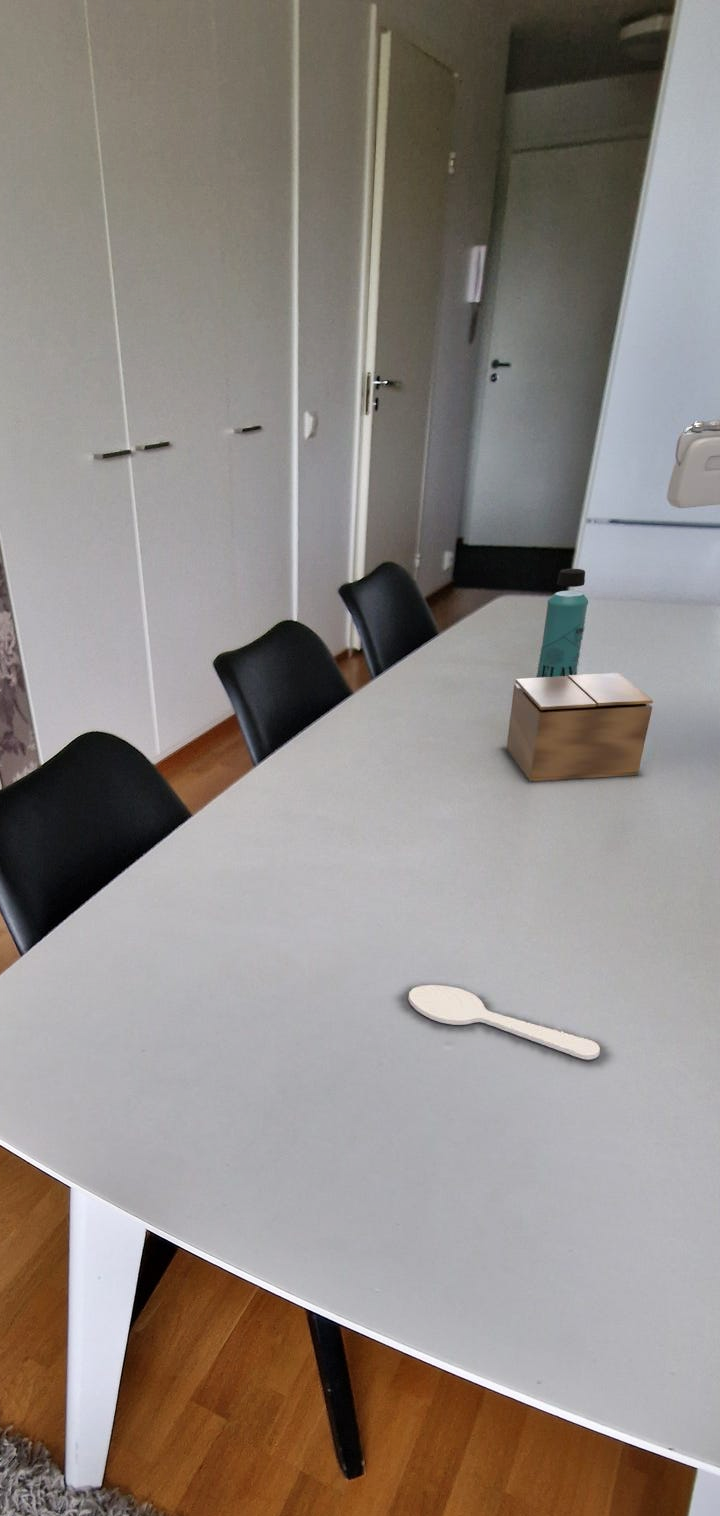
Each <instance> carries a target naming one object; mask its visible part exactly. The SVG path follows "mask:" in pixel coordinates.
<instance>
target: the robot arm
mask: <svg viewBox="0 0 720 1516" xmlns="http://www.w3.org/2000/svg"><path fill="white" fill-rule="evenodd" d="M666 500H667V501H668V503H669V505H670V506H671V507H674V508H677V509H687V508H689V509H690V508H699V507H708V506H718V505H720V419H714V420H709V421H695V422H692V423H691V425H690V426H688V427H686V428H685V429H684V430H683V431H682V432H681V434H680V435H679V436H678V438H677V442H676V448H675V462H674V466H673V468H672V472H671V475H670V479H669V483H668V488H667V493H666Z"/></svg>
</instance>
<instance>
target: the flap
mask: <svg viewBox="0 0 720 1516" xmlns="http://www.w3.org/2000/svg"><path fill="white" fill-rule="evenodd" d="M568 678H569V679H570V680H571V681H572V682H573V683H575V684H576V685H577V686H578V687H579V688H580V689H581V690H582V691H583V692H584V693H585V694H586V695H588V696H589V697H590V698H591V699H592V700H593V701H594V702H595V703H596V705H597V706H605V705H627V704H650V705H651V704H653V703H654V700H653V699H652V698H651V697H649V696H648V695H647V694H646V693H644V692H643V691H642V690H641V689H640V688H638V687H637V686H636V685H634V684H633V683H632V682H631V681H630V680H628V679H627V678H626V677H624V676H623V675H622V674H621V673H619V672H610V673H609V672H608V673H605V672H604V673H586V674H585V673H584V674H577V675H568Z"/></svg>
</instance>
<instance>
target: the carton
mask: <svg viewBox="0 0 720 1516" xmlns="http://www.w3.org/2000/svg"><path fill="white" fill-rule="evenodd" d="M514 680H515V683H516V684H514V685H513V691H512V692H513V693H512V699H511V700H512V701H511V709H510V715H509V725H508V730H507V731H508V732H507V739H506V740H507V741H506V748H505V749H506V750H507V752H508V753H509V754H510V756H511V757H512V759H513V760H514V761H515V763H516V764H517V765H518V767H519V768H520V769H521V771H522V772H523V773H524V775H525V776H526V777H527V779H528V780H529V782H545V781H560V780H561V781H562V780H578V779H595V778H596V779H597V778H613V777H628V776H629V777H631V776H638V775H639V770H640V767H641V761H642V757H643V752H644V747H645V743H646V740H647V739H646V738H647V735H648V729H649V724H650V720H651V715H652V711H653V705H651V703H650V704H627V705H605V706H597V705H596V703H595V702H594V701H593V700H592V699H591V698H590V697H589V696H588V695H586V694H585V693H584V692H583V691H582V690H581V689H580V688H579V687H578V686H577V685H576V684H575V683H573V682H572V681H571V680H570V679H569V678H568V677H567V676H557V677H541V678H537V677H526V678H525V677H523V678H515V679H514Z"/></svg>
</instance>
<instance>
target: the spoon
mask: <svg viewBox="0 0 720 1516" xmlns="http://www.w3.org/2000/svg"><path fill="white" fill-rule="evenodd" d="M408 1002H409V1004H410V1005H411V1006H412V1008H413V1009H414V1010H416V1012H418V1013H419V1014H421V1015H422V1016H425V1017H427V1018H429V1019H430V1020H433V1021H435V1022H438V1023H442V1024H447V1025H453V1026H454V1025H455V1026H459V1025H460V1026H461V1025H470V1024H474V1023H483V1024H486V1025H488V1026H492V1027H495V1028H497V1029H500V1030H501V1031H505V1032H508V1033H510V1034H513V1035H515V1036H518V1037H520V1038H524V1039H526V1040H530V1041H532V1042H534V1043H538V1044H540V1045H543V1046H546V1047H548V1048H551V1049H553V1050H556V1051H559V1052H562V1053H566V1054H567V1055H571V1056H572V1057H575V1058H579V1059H582V1060H589V1061H590V1060H594V1059H597V1058H598V1057H599V1056H600V1054H601V1053H600V1052H601V1047H600V1045H599V1044H598V1043H597V1042H595V1041H594V1040H591V1039H589V1038H584V1037H582V1036H581V1037H580V1036H576V1035H574V1034H572V1033H567V1032H564V1031H563V1030H560V1031H559V1030H557V1029H555V1028H553V1029H552V1028H548V1027H546V1026H542V1025H541V1024H539V1025H537V1024H535V1023H534V1024H533V1023H531V1022H530V1021H528V1022H526V1021H525V1020H521V1019H517V1018H515V1017H510V1016H508V1015H507V1016H506V1015H503V1014H501V1013H496V1012H493V1011H490V1010H489V1009H488V1008H486V1007H485V1004H484V1003H483V1002H482V999H480V998H479V997H478V996H477V995H475V994H474V993H472V992H470V991H468V990H466V989H462V988H460V987H454V986H448V985H444V984H443V985H442V984H441V985H439V984H426V985H423V984H422V985H417V986H415V987H413V988H412V989H410V991H409V992H408Z"/></svg>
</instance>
